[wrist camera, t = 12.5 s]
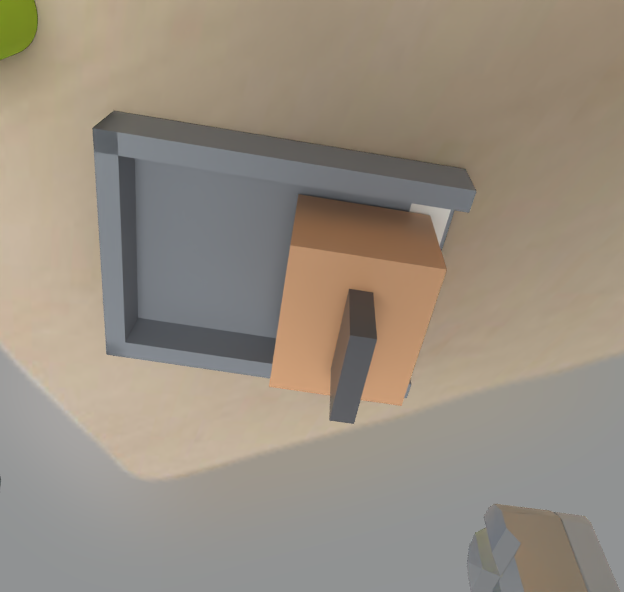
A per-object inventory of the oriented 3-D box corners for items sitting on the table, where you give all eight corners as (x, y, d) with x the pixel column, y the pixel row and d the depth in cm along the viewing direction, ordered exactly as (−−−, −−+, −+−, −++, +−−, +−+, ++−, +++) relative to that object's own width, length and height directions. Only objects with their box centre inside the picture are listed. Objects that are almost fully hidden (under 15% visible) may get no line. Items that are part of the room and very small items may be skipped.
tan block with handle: (430, 215, 42) (460, 315, 31) (393, 340, 49) (407, 458, 38) (298, 194, 42) (283, 288, 31) (279, 322, 48) (260, 437, 38)
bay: (465, 168, 41) (476, 191, 38) (402, 366, 52) (406, 398, 48) (113, 110, 40) (92, 128, 37) (122, 325, 51) (106, 354, 47)
